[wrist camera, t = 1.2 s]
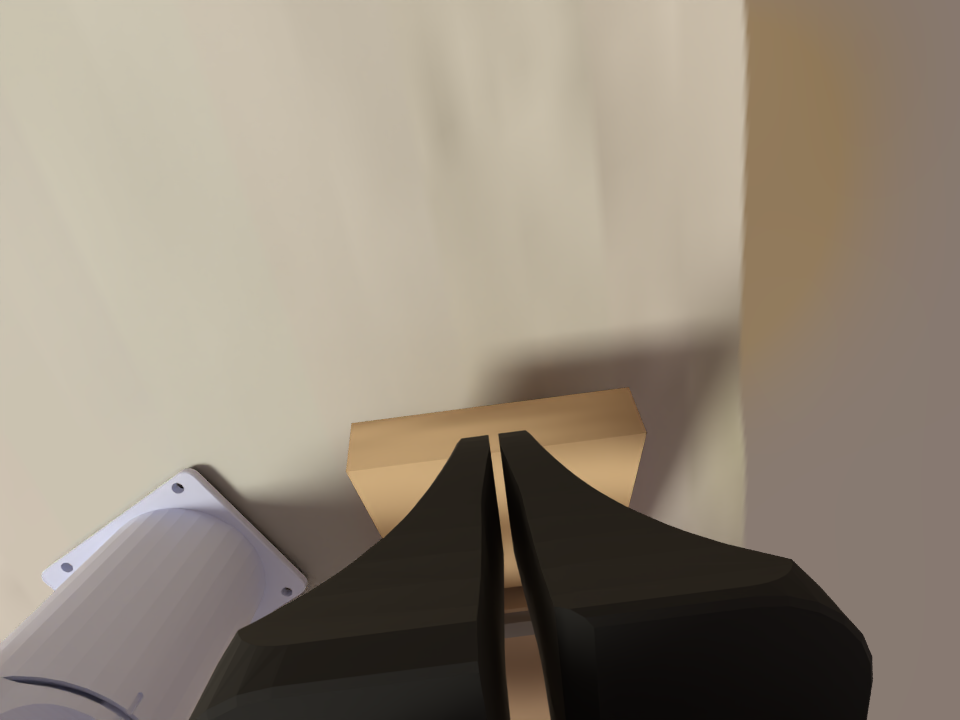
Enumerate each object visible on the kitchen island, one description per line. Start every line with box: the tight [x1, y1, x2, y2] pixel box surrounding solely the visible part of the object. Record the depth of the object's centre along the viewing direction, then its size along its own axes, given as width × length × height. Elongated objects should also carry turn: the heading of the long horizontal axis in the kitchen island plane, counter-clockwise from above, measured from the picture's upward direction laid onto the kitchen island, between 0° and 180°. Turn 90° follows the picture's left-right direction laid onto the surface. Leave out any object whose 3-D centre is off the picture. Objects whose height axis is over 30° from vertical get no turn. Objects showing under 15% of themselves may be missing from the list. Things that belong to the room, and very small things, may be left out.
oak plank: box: [346, 387, 647, 588], centre depth 19 cm, size 11×9×2 cm
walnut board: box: [504, 586, 551, 720], centre depth 25 cm, size 8×9×3 cm
